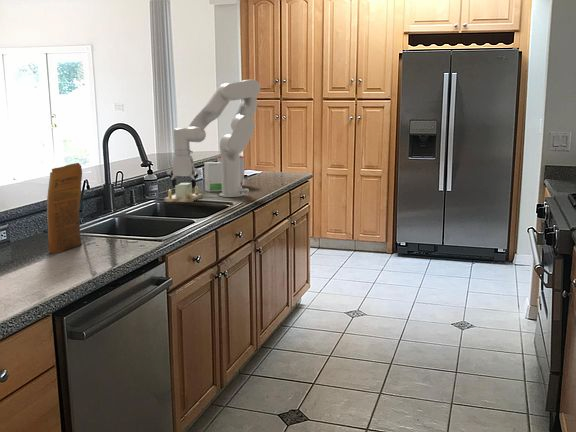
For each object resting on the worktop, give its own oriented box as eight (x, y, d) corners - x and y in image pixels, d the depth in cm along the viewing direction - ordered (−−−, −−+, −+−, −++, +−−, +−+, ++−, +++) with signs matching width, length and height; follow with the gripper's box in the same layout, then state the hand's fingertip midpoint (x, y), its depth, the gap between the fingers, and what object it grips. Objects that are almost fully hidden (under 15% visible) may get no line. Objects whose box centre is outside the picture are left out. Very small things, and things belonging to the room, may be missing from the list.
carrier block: (192, 194, 315) (191, 182, 313) (185, 197, 305) (184, 185, 304) (182, 194, 315) (182, 182, 314) (175, 197, 306) (175, 185, 305)
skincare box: (208, 192, 334) (208, 163, 331) (204, 190, 339) (203, 162, 336) (223, 190, 338) (222, 162, 335) (218, 189, 343) (217, 161, 340)
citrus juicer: (247, 184, 365) (247, 149, 361) (242, 188, 348) (241, 152, 344) (221, 183, 366) (220, 149, 363) (215, 187, 349) (214, 152, 346)
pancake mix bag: (93, 242, 216) (88, 162, 211) (57, 255, 198) (51, 168, 193) (77, 241, 218) (71, 161, 213) (40, 254, 200) (33, 167, 195)
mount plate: (202, 196, 318) (201, 186, 317) (191, 202, 301) (191, 190, 300) (176, 196, 320) (175, 185, 319) (164, 201, 303) (163, 190, 302)
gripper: (201, 152, 309) (203, 186, 312) (168, 152, 311) (170, 186, 315) (196, 153, 301) (198, 188, 305) (162, 153, 304) (165, 188, 307)
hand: (184, 187), depth 310 cm, fingers open, 9 cm apart
